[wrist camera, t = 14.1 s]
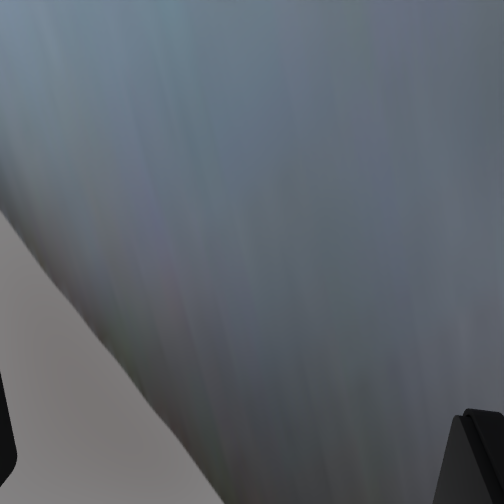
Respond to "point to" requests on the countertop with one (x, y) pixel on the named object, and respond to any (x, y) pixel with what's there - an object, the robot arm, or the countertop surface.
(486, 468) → the robot arm
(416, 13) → the countertop surface
